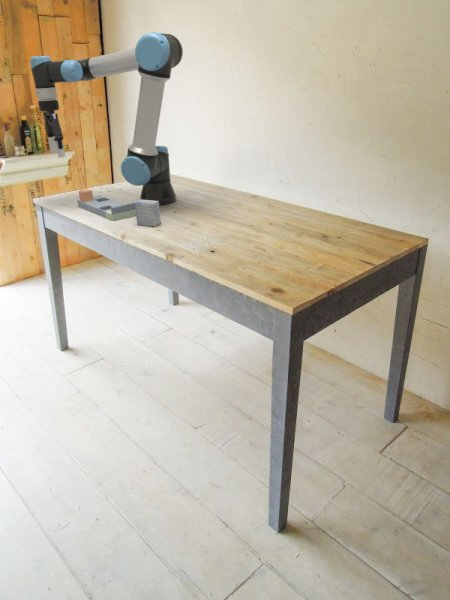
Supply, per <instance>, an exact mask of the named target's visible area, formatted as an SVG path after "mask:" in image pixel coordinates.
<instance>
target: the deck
mask: <svg viewBox="0 0 450 600" xmlns="http://www.w3.org/2000/svg"><path fill="white" fill-rule="evenodd" d="M135 202H136V201H135ZM135 202H134V201H133V202H130V203H126V204H125V203H123V202H120V201H116V200H114V199H111V198H108V197H106V196H103V195H99V196H95V197H94V196H93V200H92V201H88V202H83V201H80V199H78V200H77V204H78V205H77V206H78V207H79V208H81V209H83V210H86V211H89V212H91V213H94V214H95V215H98V216H101V217H102V218H105V219H107V220H110V221H113V222H116V221H120V220H124V219H129V218H131V217H136V209H135Z"/></svg>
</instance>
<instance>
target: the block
mask: <svg viewBox="0 0 450 600" xmlns="http://www.w3.org/2000/svg"><path fill="white" fill-rule="evenodd" d="M93 195H94V194H93V191H92V190H91V189H82V190H78V196H79V200H80V201H83V202H88V201H92V200H93V197H94V196H93Z"/></svg>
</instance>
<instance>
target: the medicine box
mask: <svg viewBox="0 0 450 600" xmlns="http://www.w3.org/2000/svg"><path fill="white" fill-rule="evenodd" d="M135 209H136V216H135V217H136V223H137V226H145V227H157V226H159V225H160V224H162V221H161V220H162V219H161V211H160V205H159V201H153V200H141V199H139V200H137V201H135Z"/></svg>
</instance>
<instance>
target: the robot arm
mask: <svg viewBox="0 0 450 600" xmlns="http://www.w3.org/2000/svg"><path fill="white" fill-rule="evenodd" d="M183 53H184V52H183V46H182V43H181V42H180V40H179V38H177V36H175V35H173V34H171V33H164V32H162V33H161V32H154V31H153V32H149V33H145V34H144V35H142V36H140V37H139V38H138V40H137V42H136V45H135V47H134V48H129V49H124V50H121V51H120V50H119V51H116V52H112V53H107V54H102V55H98V56H95V57H94V56H93V57H90V58H83V59H80V60H79V59H78V60H75V59H74V60H72V59H66V60H53V61H52V60H51V57H50V56H49V55H43V56H42V55H40V56H39V55H37V56H36V55H35V56H31V58H30V60H29V61H30V70H31V74H32V78H33V83H34V88H35V91H34V94H35V95H36V97H37V100H39V101H37V104H38V109H39V111H40V112H43V116H44V123H45V124H44V125H45V126H44V127H45V134H46V136H47V139H48V144H49V151H50V154H51V155H52V154H57V158H58V159H60V158H66V152H65V146H64V142H63V140H64V135H63V132H62V128H61V124H60V121H59V117H58V116H59V115H58V113H57V112H56V113H55V111H59V110H60V105H59V100H58V94H57V87H56V83H62V84H63V83H71V84H72V83H76V82H82V81H83V82H84V81H85V82H86V81H87V82H88V81H93V80H95V79H99V78H104V77H109V76H114V75H119V74H124V73H128V72H134V71H137V72H138V74H139V75H140V86H139V94H138V101H137V108H136V113H135V114H136V115H135V116H136V117H135V123H134V130H133V131H134V132H133V139H132V143H131V144H130V145H128V147H127V154H126V157H125V158H124V159H123V160H122V162H121V164H120V171H121V176H122V177H123V178H124V179H125V181H126V182H127V183H129V184H130V185H132V186H137V187H138V186H139V187H140V186H142V188H141V192H140V197H139V198H140V199H139V200H153V201H159V206H161V205H169V204H172V203H174V202H176V201H177V196H176V192H175V190H174V188H173V185H172V182H171V174H170V173H171V171H170V169H171V168H170V158H169V157H170V154H169V150H168V146H164V145H156V142H157V137H158V129H159V124H160V117H161V110H162V105H163V98H164V91H165V85H166V84H165V83H167V81H169V80H170V79H171V74H172V69H173V68H175V67H176V66H178V65H179V64H180V62H181V61H182V59H183Z"/></svg>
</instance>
